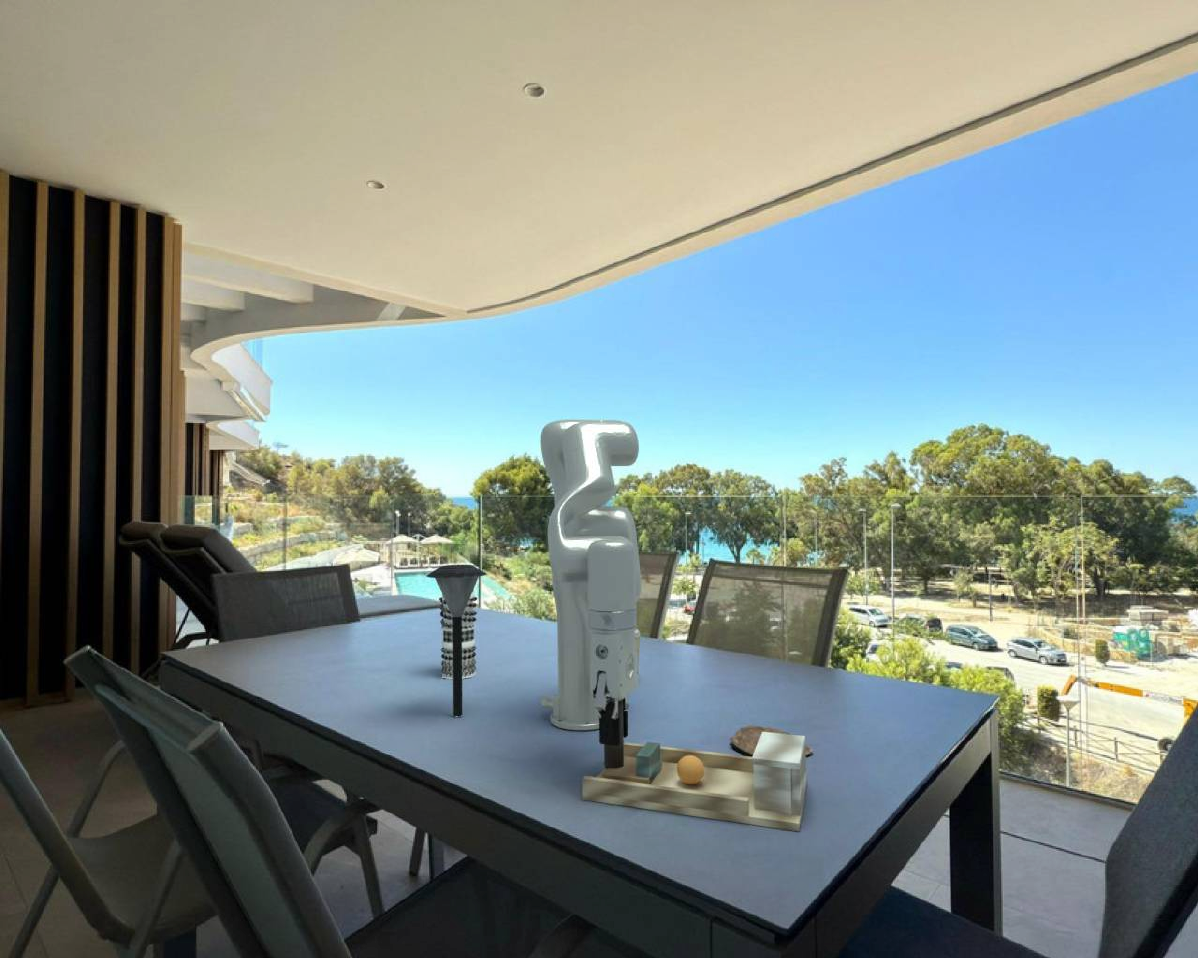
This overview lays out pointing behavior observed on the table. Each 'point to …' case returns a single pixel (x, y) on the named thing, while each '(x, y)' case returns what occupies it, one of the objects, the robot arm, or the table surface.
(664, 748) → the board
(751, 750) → the shell
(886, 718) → the table surface
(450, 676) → the decorative candle
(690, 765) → the ball
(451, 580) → the solar garden light
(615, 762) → the kicker
